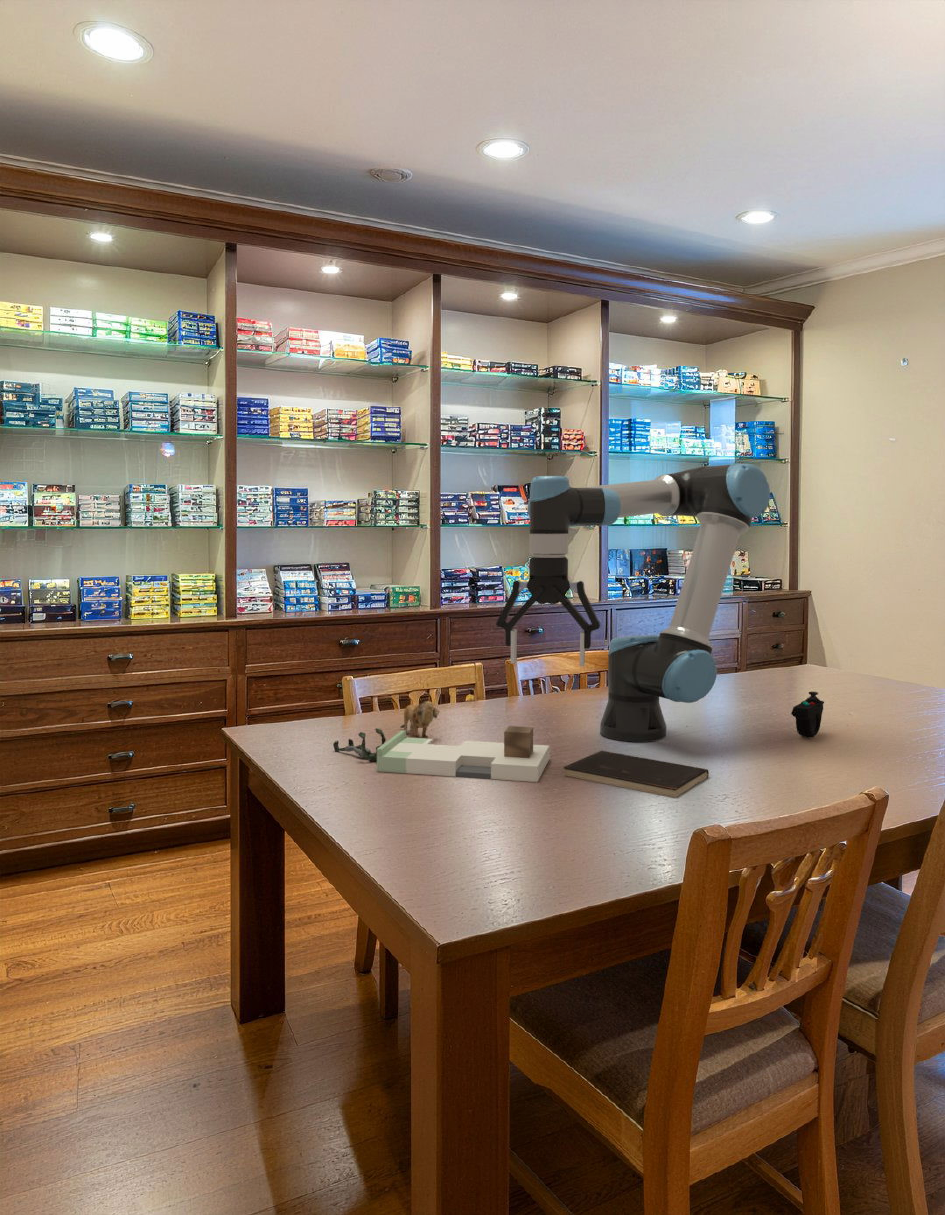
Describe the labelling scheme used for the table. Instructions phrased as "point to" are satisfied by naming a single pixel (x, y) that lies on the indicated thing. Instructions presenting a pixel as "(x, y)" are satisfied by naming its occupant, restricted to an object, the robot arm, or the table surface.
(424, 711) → the lion figurine
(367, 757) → the zombie figurine
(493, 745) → the trap board
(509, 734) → the walnut block
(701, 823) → the table surface
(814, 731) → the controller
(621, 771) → the hardcover book
